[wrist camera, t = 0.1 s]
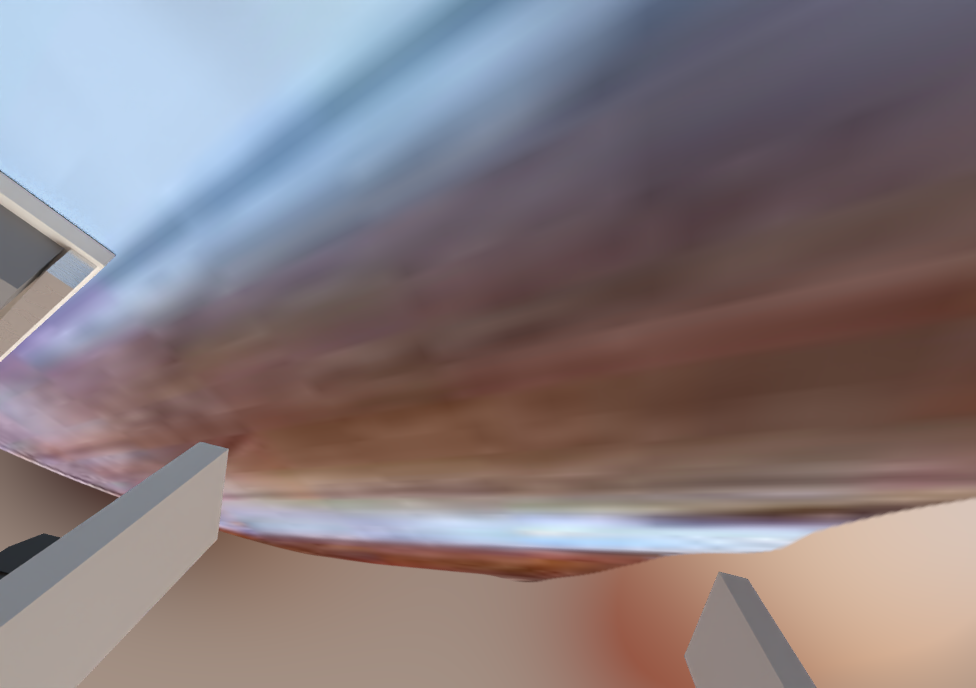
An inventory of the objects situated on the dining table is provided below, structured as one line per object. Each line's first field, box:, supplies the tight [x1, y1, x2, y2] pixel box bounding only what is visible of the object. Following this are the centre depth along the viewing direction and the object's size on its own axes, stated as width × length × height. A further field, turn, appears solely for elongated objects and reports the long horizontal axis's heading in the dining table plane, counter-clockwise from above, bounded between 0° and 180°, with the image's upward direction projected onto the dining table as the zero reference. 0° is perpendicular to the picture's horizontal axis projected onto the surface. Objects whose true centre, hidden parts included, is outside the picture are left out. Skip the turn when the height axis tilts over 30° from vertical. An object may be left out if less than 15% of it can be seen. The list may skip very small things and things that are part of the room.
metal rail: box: [0, 249, 97, 357], centre depth 36 cm, size 2×24×2 cm, turn 126°
